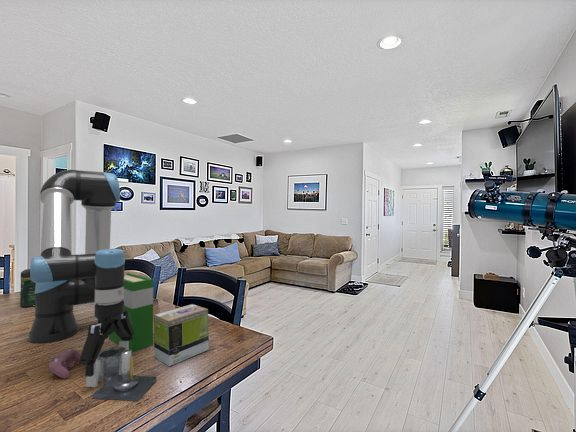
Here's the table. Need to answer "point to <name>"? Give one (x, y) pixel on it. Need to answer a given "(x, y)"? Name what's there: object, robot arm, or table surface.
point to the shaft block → (125, 383)
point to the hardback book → (138, 311)
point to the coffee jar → (27, 289)
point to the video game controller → (64, 357)
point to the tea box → (180, 333)
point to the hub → (109, 363)
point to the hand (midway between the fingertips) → (109, 373)
